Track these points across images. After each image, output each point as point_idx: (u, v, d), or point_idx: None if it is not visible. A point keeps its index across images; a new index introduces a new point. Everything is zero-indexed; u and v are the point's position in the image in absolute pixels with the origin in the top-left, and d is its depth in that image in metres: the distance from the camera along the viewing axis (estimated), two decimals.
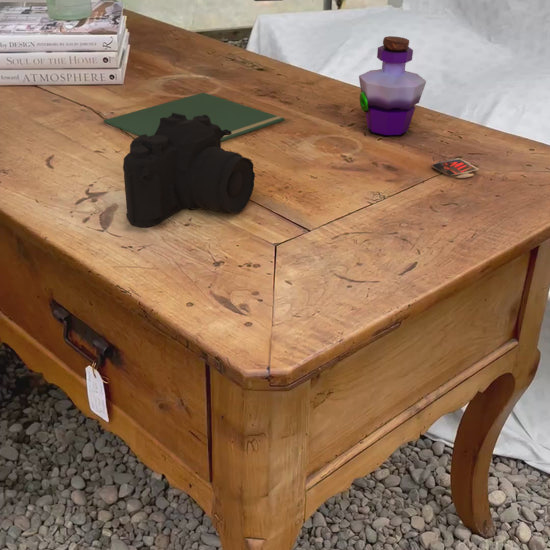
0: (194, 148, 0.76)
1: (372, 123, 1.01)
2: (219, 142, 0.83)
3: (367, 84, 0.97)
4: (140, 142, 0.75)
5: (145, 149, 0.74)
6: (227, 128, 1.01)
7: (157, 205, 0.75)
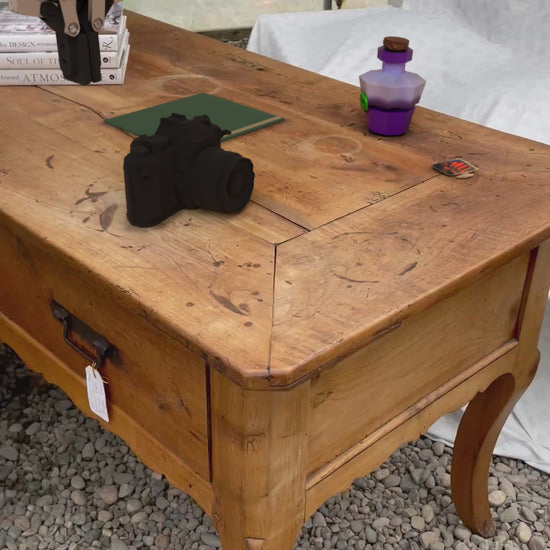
0: (194, 148, 0.76)
1: (372, 123, 1.01)
2: (219, 142, 0.83)
3: (367, 84, 0.97)
4: (140, 142, 0.75)
5: (145, 149, 0.74)
6: (227, 128, 1.01)
7: (157, 204, 0.75)
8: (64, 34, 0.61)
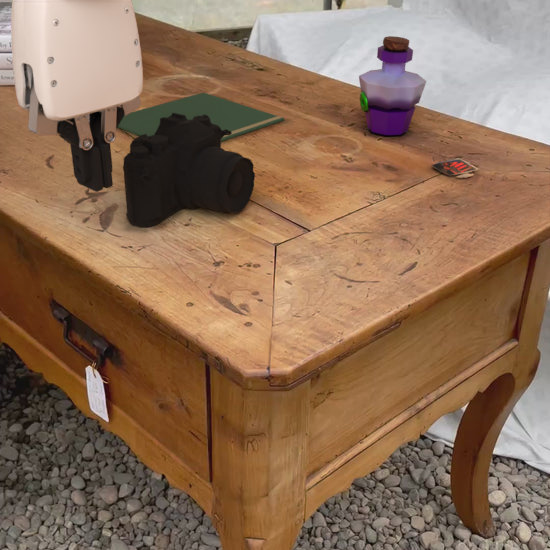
0: (194, 149, 0.76)
1: (372, 123, 1.01)
2: (219, 142, 0.83)
3: (367, 84, 0.97)
4: (140, 142, 0.75)
5: (145, 149, 0.74)
6: (227, 128, 1.01)
7: (157, 204, 0.75)
8: (79, 147, 0.66)
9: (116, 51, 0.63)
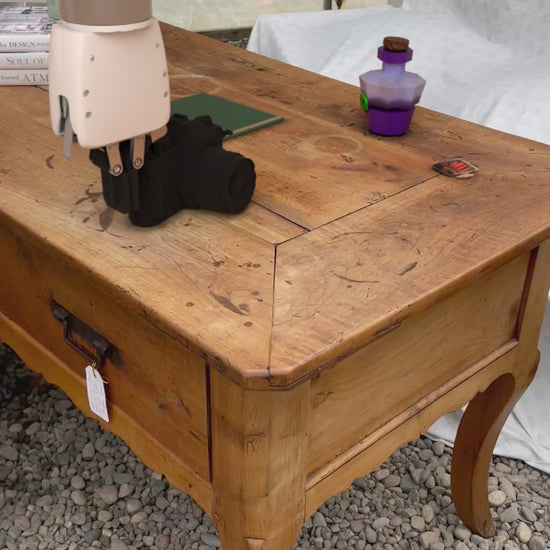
0: (196, 149, 0.76)
1: (372, 123, 1.01)
2: (221, 142, 0.83)
3: (367, 84, 0.97)
4: None
5: (147, 149, 0.74)
6: (227, 128, 1.01)
7: (158, 204, 0.75)
8: (109, 173, 0.70)
9: (146, 83, 0.67)
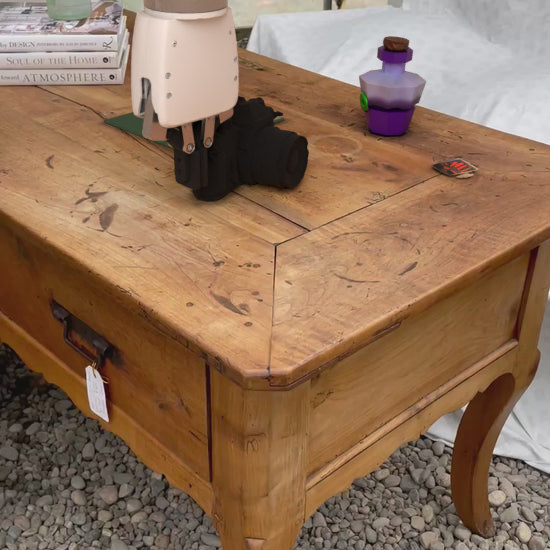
0: (255, 127, 0.82)
1: (372, 123, 1.01)
2: None
3: (367, 84, 0.97)
4: None
5: None
6: None
7: (222, 179, 0.81)
8: (182, 151, 0.75)
9: (220, 67, 0.72)
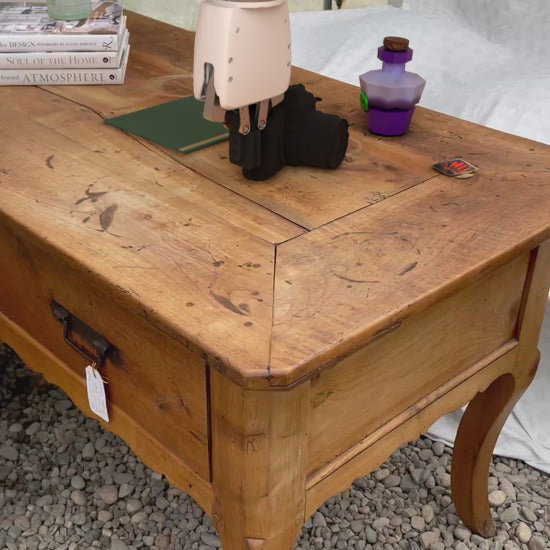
0: (301, 111, 0.87)
1: (372, 123, 1.01)
2: None
3: (367, 84, 0.97)
4: None
5: None
6: None
7: (272, 160, 0.86)
8: (238, 132, 0.80)
9: (275, 54, 0.77)
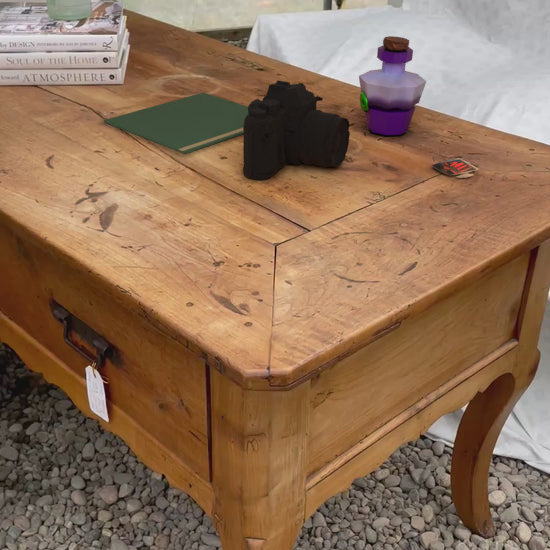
0: (302, 110, 0.87)
1: (372, 123, 1.01)
2: None
3: (367, 84, 0.97)
4: (256, 105, 0.86)
5: (263, 110, 0.85)
6: (227, 128, 1.01)
7: (273, 159, 0.86)
8: None
9: None
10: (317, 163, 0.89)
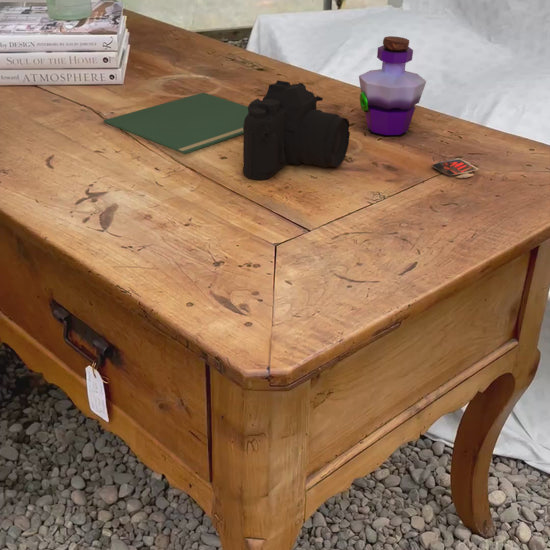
0: (302, 110, 0.87)
1: (372, 123, 1.01)
2: None
3: (367, 84, 0.97)
4: (256, 105, 0.86)
5: (263, 110, 0.85)
6: (227, 128, 1.01)
7: (273, 159, 0.86)
8: None
9: None
10: (317, 163, 0.89)
